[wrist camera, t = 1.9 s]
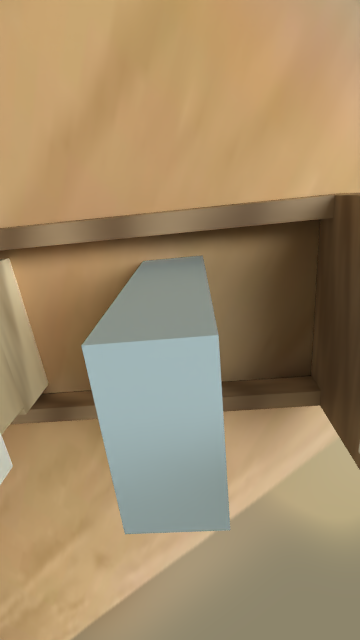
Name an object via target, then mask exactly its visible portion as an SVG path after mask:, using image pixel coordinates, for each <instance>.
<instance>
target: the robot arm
mask: <svg viewBox="0 0 360 640" xmlns="http://www.w3.org/2000/svg"><path fill="white" fill-rule="evenodd" d="M358 452H359V453H360V444H359V451H358ZM12 467H13V465H12V462H11V459H10V457H9V454H8V451H7V449H6V446H5V443H4V441H3V438H2V436H1V433H0V485H1V483H2V482H3V480H4V479H5V477H6V476H7V474H8V473H9V471H10V470H11V468H12Z"/></svg>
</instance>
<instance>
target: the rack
mask: <svg viewBox="0 0 360 640" xmlns="http://www.w3.org/2000/svg"><path fill="white" fill-rule="evenodd" d="M316 219H320V227H319V245H318V263H317V280H316V298H315V316H314V333H313V351H312V369H311V376H304V377H289V378H274V379H259V380H244V381H229V382H221V385H222V402H223V411H236V410H252V409H269V408H285V407H302V406H318V405H320V406H321V408H322V409H323V411H324V412H325V414H326V416H327V417H328V419H329V421H330V422H331V424H332V425H333V427H334V429H335V430H336V432H337V434H338V435H339V437H340V438H341V440H342V442H343V443H344V445H345V447H346V448H347V449H348V451H349V453H350V455H351V456H352V458H353V459H354V461H355V463H356V464H357V466H358V468H359V469H360V453H359V452H358V451H359V444H360V193H339V194H329V195H319V196H310V197H300V198H290V199H280V200H271V201H261V202H251V203H242V204H232V205H222V206H212V207H203V208H193V209H183V210H173V211H164V212H154V213H144V214H135V215H125V216H115V217H105V218H96V219H86V220H76V221H66V222H57V223H47V224H37V225H28V226H18V227H8V228H0V250H10V249H21V248H31V247H41V246H51V245H61V244H71V243H82V242H92V241H102V240H112V239H122V238H133V237H143V236H153V235H163V234H173V233H184V232H194V231H204V230H214V229H224V228H235V227H245V226H255V225H265V224H275V223H286V222H296V221H306V220H316ZM89 419H98V415H97V411H96V407H95V402H94V398H93V394H92V391H80V392H65V393H50V394H41V395H40V396H39V398H38V399H37V400H36V402H35V403H34V404H33V406H32V407H31V408H30V410H29V411H28V412H27V414H25V415H17V416H16V417H15V419H14V420H13V421H12V422H11V424H23V423H40V422H56V421H72V420H89Z"/></svg>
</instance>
